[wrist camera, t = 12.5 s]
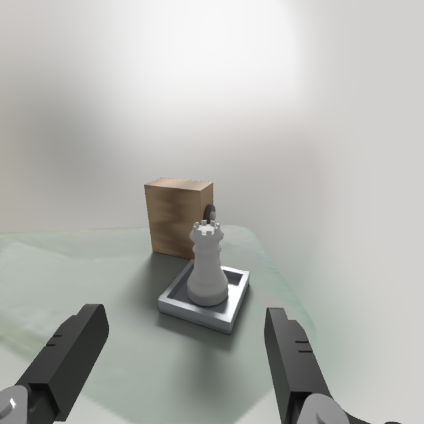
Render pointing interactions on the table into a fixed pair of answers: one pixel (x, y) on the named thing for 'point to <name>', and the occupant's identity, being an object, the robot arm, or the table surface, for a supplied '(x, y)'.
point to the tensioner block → (177, 213)
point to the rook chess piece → (207, 266)
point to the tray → (205, 316)
